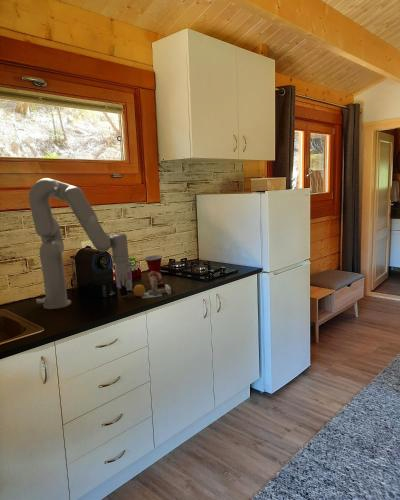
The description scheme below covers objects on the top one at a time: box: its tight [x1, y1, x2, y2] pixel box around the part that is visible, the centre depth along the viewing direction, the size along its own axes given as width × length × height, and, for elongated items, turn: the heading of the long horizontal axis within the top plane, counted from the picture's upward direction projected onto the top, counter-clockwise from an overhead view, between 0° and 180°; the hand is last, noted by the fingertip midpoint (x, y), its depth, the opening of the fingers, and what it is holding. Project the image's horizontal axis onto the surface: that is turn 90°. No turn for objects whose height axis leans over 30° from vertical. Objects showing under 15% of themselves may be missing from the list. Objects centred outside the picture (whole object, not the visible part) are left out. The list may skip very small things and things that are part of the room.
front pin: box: [147, 288, 167, 295], centre depth 194 cm, size 2×2×8 cm
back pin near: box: [152, 279, 158, 296], centre depth 190 cm, size 2×2×8 cm
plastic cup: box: [144, 254, 163, 273], centre depth 235 cm, size 11×11×12 cm
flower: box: [146, 271, 164, 287], centre depth 211 cm, size 10×9×8 cm
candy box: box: [114, 259, 134, 292], centre depth 207 cm, size 14×6×16 cm, turn 26°
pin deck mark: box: [140, 291, 163, 299], centre depth 193 cm, size 10×10×1 cm
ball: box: [132, 283, 146, 297], centre depth 191 cm, size 6×6×6 cm
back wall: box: [164, 283, 172, 295], centre depth 196 cm, size 2×9×3 cm, turn 15°
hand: (123, 295), depth 189 cm, fingers closed
